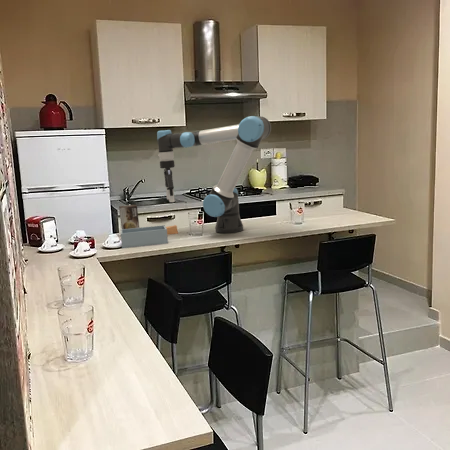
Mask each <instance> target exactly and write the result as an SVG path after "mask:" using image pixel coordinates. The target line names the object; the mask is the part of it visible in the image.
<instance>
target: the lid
mask: <svg viewBox="0 0 450 450" xmlns="http://www.w3.org/2000/svg"><path fill="white" fill-rule="evenodd" d="M165 227H166V229H167V236H168V235H174V234H179V232H178V225H177V224H174V225H169V226H165Z"/></svg>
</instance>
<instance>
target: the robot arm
mask: <svg viewBox="0 0 450 450" xmlns="http://www.w3.org/2000/svg"><path fill="white" fill-rule="evenodd" d="M271 131H272V124H271V122H270V121H269V120H268V118H266V117H264V116H257V115H255V116H254V115H251V116H246V117H245V118H243V119H242V120H241V121H240V122H239V123H238V124H233V125H232V124H231V125H227V126H222V127H221V126H220V127H215V128H209V129H204V130H203V129H202V130H196V131H184V132H177V133H173V132H172V130H171V129H167V130H166V129H165V130H163V129H162V130H158V131H157V132H156V135H157V136H156V137H157V138H156V140H157V149H158V154H157V156H158V157H159V167H160V169H163V175H164V182H165V184H164V185H165V193H166V194H165V195H166V200H168V201H169V203H175V202H176V201H175V192H174V191H175V189H174V187H175V186H174V180H173V171H172V169H171V168H175V156H174V155H175V154H174V149H182V148H186V149H187V148H191V147H199V146H204V145H205V146H206V145H210V144H216V143H217V144H218V143H223V142H224V143H225V142H230V141H236V144H235V146H234V148H233V151H232V153H231V155H230V157H229V160H228V161H227V164H226V166H225V168H224V170H223V172H222V174H221V176H220V178H219V181H217V184H215V185H213V186H212V188H211V189H210V192H209V194H208V195H206V196H204V198H203V201H202V207H203V210H204V212H205V213H206V214H207V215H208V216H210V217H214V218H217V220H216V223H215V227H214V229H215V230H214V231H215V233H219V234H233V233H239V232H242V231H244V224H243V221H242V220H241V216H240V204H239V203H240V202H239V192H238V189H237V187H236V186H237V185H238V182H239V180H240V178H241V176H242V174H243V172H244V169H245V167H246V165H247V164H248V162H249V159H250V157H251V155H252V153H253V151H255V150H257V149H258V148H259V146H260V144H261V142H262V140H265V139H267V138H268V137H269V136H270V134H271Z"/></svg>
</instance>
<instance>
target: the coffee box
mask: <svg viewBox="0 0 450 450" xmlns="http://www.w3.org/2000/svg"><path fill="white" fill-rule="evenodd" d="M118 208H119V209H118V210H119V218H120V227H121V229H131V228H140V221H139V211H138V205H137V204H128V205H120V206H119V207H118Z"/></svg>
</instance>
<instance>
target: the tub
mask: <svg viewBox="0 0 450 450" xmlns="http://www.w3.org/2000/svg"><path fill="white" fill-rule="evenodd" d="M166 227H167V226H166V225H154V226H144V227H139V228H131V229H122V228H121V229H120V241H121V248H122V249H127V248H128V249H129V248H137V247H138V248H139V247H147V246H155V245H165V244H168V243H169V241H168V235H167V229H166Z"/></svg>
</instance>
